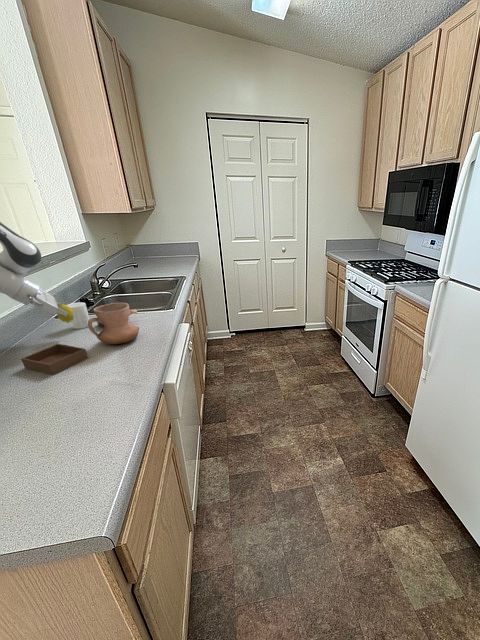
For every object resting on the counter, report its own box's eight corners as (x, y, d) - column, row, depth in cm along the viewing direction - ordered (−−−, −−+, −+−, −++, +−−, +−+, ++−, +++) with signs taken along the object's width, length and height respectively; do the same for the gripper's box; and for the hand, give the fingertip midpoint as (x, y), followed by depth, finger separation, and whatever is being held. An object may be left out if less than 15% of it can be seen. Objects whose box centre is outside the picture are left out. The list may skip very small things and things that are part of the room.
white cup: (70, 326, 150) (62, 305, 146) (89, 321, 155) (83, 301, 151) (74, 330, 145) (66, 309, 141) (94, 326, 150) (87, 304, 145)
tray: (25, 368, 114) (20, 358, 113) (61, 352, 125) (58, 343, 124) (53, 375, 110) (49, 365, 108) (88, 358, 121) (85, 348, 119)
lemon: (68, 320, 141) (61, 301, 137) (79, 320, 140) (73, 302, 136) (57, 324, 136) (50, 305, 132) (68, 325, 135) (61, 306, 131)
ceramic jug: (139, 330, 144) (130, 298, 138) (147, 340, 134) (138, 307, 127) (92, 340, 135) (81, 307, 129) (96, 352, 125) (84, 317, 118)
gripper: (33, 291, 119) (74, 312, 129) (32, 281, 134) (68, 300, 143) (23, 306, 119) (64, 325, 128) (22, 294, 133) (59, 312, 143)
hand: (66, 312), depth 136 cm, fingers closed on lemon, 5 cm apart
